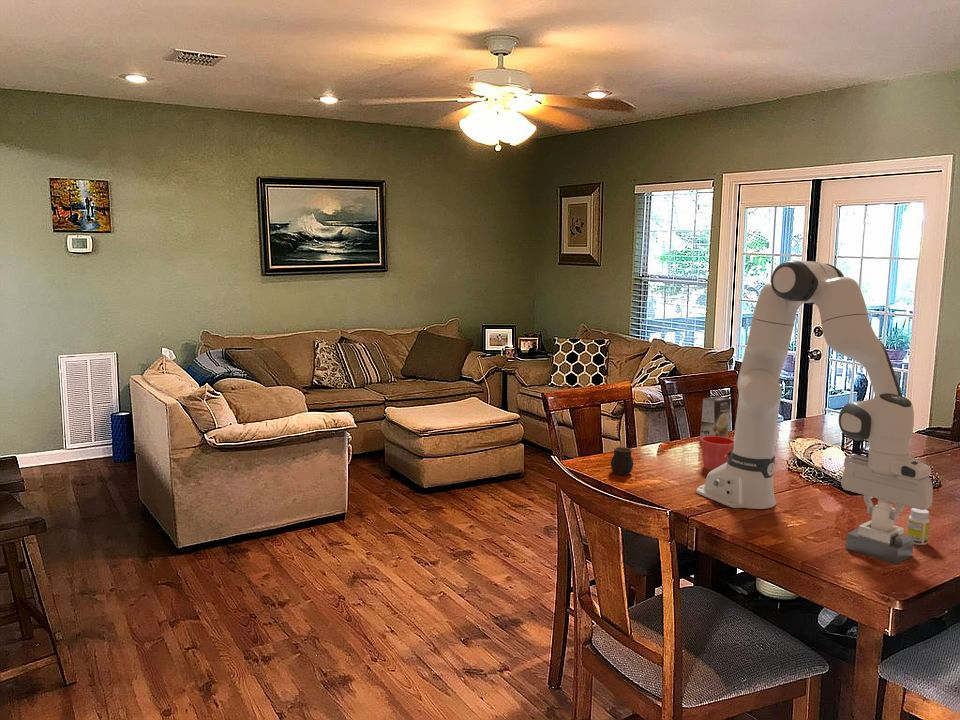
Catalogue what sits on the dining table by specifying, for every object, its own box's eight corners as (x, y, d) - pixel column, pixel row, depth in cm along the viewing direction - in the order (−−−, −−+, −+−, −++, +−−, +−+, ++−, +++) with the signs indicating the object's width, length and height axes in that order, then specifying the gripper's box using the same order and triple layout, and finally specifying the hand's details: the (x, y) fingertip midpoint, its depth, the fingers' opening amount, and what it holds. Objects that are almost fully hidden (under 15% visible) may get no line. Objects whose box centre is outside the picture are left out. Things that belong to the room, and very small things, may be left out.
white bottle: (878, 527, 194) (882, 490, 193) (894, 532, 191) (898, 495, 190) (869, 530, 192) (873, 493, 191) (885, 535, 189) (889, 498, 187)
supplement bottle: (920, 538, 202) (924, 507, 201) (931, 545, 197) (935, 513, 196) (902, 538, 202) (905, 507, 200) (912, 545, 197) (916, 513, 196)
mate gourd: (615, 468, 257) (617, 438, 255) (637, 472, 253) (639, 442, 251) (606, 473, 251) (608, 443, 249) (628, 478, 247) (630, 447, 245)
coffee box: (714, 443, 291) (717, 401, 288) (699, 440, 295) (702, 398, 293) (728, 440, 296) (731, 398, 294) (713, 436, 301) (716, 395, 299)
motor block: (845, 548, 194) (848, 523, 193) (862, 540, 200) (864, 516, 199) (896, 564, 185) (899, 538, 184) (912, 555, 191) (915, 530, 189)
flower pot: (728, 464, 265) (730, 436, 263) (736, 473, 254) (738, 444, 252) (696, 462, 266) (698, 434, 264) (702, 472, 255) (704, 443, 253)
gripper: (839, 454, 194) (834, 507, 197) (928, 474, 179) (921, 532, 181) (851, 449, 198) (845, 502, 201) (938, 469, 183) (931, 525, 185)
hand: (882, 516), depth 191 cm, fingers closed on white bottle, 4 cm apart
